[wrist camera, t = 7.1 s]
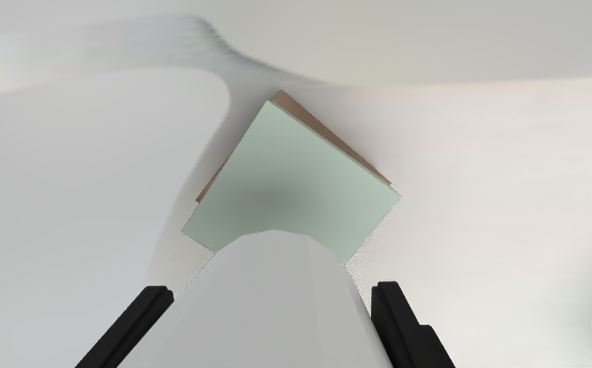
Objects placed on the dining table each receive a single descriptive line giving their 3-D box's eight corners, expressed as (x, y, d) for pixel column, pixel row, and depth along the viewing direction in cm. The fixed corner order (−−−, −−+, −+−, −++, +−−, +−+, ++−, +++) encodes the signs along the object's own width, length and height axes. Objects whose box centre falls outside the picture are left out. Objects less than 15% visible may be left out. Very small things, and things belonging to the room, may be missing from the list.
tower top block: (306, 272, 26) (307, 310, 21) (205, 207, 25) (181, 231, 20) (381, 178, 24) (401, 196, 19) (274, 101, 23) (266, 100, 18)
